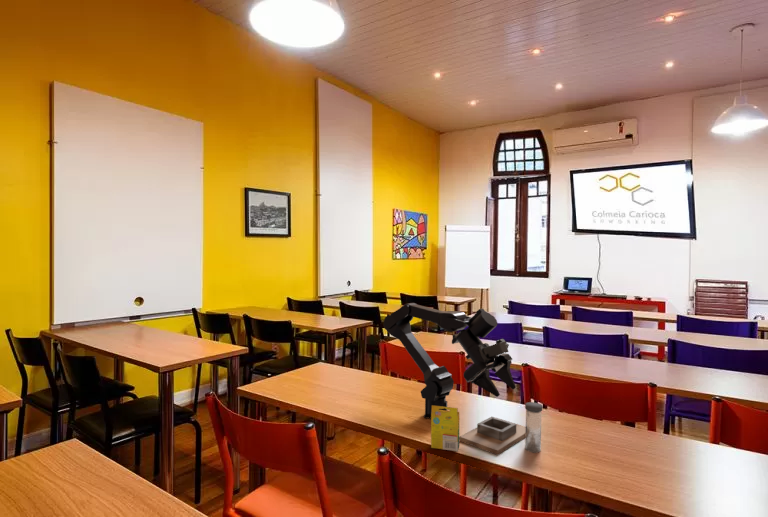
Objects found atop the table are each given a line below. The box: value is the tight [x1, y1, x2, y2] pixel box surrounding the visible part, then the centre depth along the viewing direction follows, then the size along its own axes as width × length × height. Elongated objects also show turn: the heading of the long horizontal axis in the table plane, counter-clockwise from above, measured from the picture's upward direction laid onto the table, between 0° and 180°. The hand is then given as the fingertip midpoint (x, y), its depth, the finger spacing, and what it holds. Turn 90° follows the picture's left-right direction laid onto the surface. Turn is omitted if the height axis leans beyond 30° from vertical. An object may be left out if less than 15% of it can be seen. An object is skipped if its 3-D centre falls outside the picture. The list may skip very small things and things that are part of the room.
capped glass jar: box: [524, 401, 543, 454], centre depth 120 cm, size 4×4×12 cm
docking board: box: [459, 416, 526, 456], centre depth 127 cm, size 12×20×4 cm, turn 136°
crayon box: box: [430, 405, 460, 453], centre depth 120 cm, size 7×3×12 cm, turn 72°
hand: (506, 392), depth 125 cm, fingers open, 9 cm apart
